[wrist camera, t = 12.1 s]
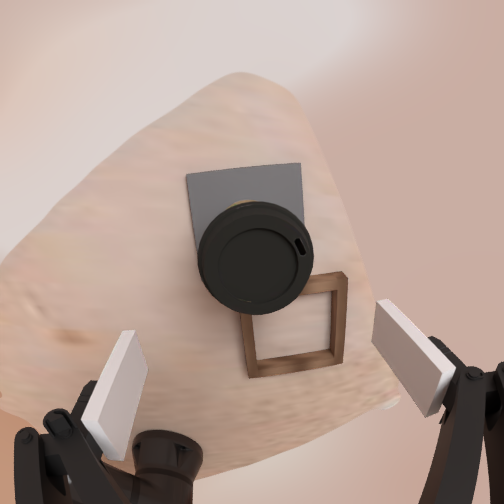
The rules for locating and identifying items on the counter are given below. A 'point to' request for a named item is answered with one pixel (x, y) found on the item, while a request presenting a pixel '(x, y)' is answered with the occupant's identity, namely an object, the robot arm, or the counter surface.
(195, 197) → the trivet mat
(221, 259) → the coffee cup
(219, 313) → the counter surface
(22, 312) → the counter surface
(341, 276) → the walnut collar
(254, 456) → the counter surface
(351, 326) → the counter surface
